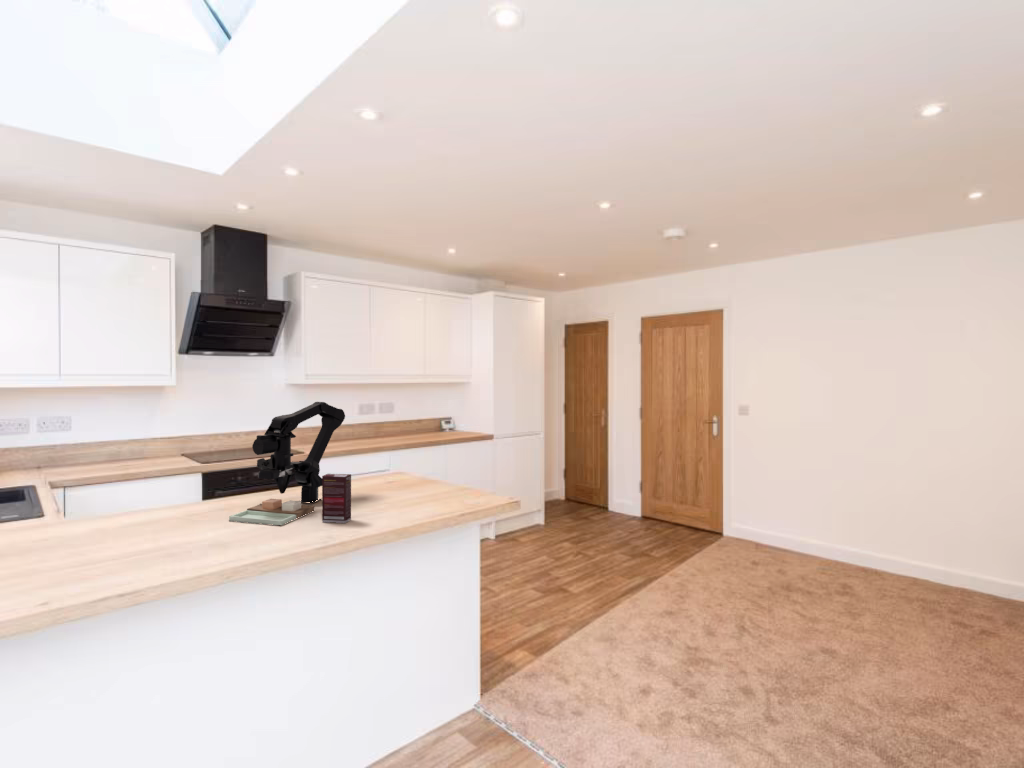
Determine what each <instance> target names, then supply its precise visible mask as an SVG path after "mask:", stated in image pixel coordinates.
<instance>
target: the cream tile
mask: <svg viewBox="0 0 1024 768" xmlns="http://www.w3.org/2000/svg"><path fill="white" fill-rule="evenodd" d="M301 505H302V503H301V501H300V500H292V499H291V500H290V499H289V500H287V501H285V502H282V510H283V511H295V510H298V509H300V508H301Z"/></svg>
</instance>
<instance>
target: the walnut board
mask: <svg viewBox="0 0 1024 768" xmlns="http://www.w3.org/2000/svg"><path fill="white" fill-rule="evenodd" d="M246 510H250V511H261V512H272V513H282V514H293V515H296V518H298V517H301V516H303V515H305V514H308V513H310V512H312V511H314V512H315V505H304V504H301V508H300V509H298V510H295V511H283V510H282V506H281V507H279V508H276V509H274V510H272V509H262V503H260V504H257V505H254V506H252V507H248V508H246ZM312 513H313V512H312ZM310 514H311V513H310ZM308 515H309V514H308ZM305 516H306V515H305ZM303 517H304V516H303ZM301 518H302V517H301ZM298 519H299V518H298Z"/></svg>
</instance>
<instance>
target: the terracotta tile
mask: <svg viewBox="0 0 1024 768" xmlns="http://www.w3.org/2000/svg"><path fill="white" fill-rule="evenodd" d="M282 503H283V499H279V498H269V499H266V500H263V501H262V502H261V504H262V509H272V510H274V509H276V508H279V507H281V506H282Z"/></svg>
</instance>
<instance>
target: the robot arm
mask: <svg viewBox="0 0 1024 768" xmlns="http://www.w3.org/2000/svg"><path fill="white" fill-rule="evenodd" d="M317 415H318V416H320V417H321V427H320V430H319V432H318V434H317V435H316V438H315V441H314V442H313V445H312V446H311V448H310V451H309V453H308V455H307V457H306V459H304V460H299V461H292V457H294V453H293V452H292V445H291V444H292V442H291V441H292V439H295V438H297V435H296V434H294V433H293V431H294V430H295V429H297V428H298V426H299V425H300V424H301V423H303V422H305V421H307V420H309V419H312V418H313V417H316V416H317ZM345 419H346V414H345V411H344V410H343V409H342V408H338V407H336V406H333V405H330V404H328V403H326V402H324V401H315V402H313V403H312V404H310V405H307V406H305V407H304V408H301V409H299V410H296V411H294V412H292V413H289V414H282V415H278V416H275V417H273V418H272V419H271V423H270V424H269V426H268V428H267V430H266V431H265V432H264V434H263V435H261V434H258V435H256V439H254V441H253V442H252V443H253V444H252V451H253V454H255V455H257V456H260V455H261V456H262V455H267V454H271V455H270V458H268V459H265V458H264V457H262V458H259V459H257V461H256V467H257V468H258V469H260V470H259V471H258V473H257V477H258V478H257V479H263V480H265V479H267V480H274V481H275V483H276V485H277V489H278V491H279V493H280V494H285V493H286V491H287V488H288V487H289V484H290V482H291V480H292V478H293V477H294V479H295V481H296V483H297V486H301V492H300V493H301V494H300V496H301V497H300V498H301V499H300V500H301V502H310V503H313V502H315V501H316V500H318V498H319V488H320V487H322V476H320V475H319V474H320V471H321V469H320V462H321V460H322V458H323V455H324V453H325V451H326V449H327V447H328V445H329V442H330V440H331V438H332V436H333V433H334V432H335V431H336V430H337V429H339V427H341V425H342V423H343V422H344V421H345ZM293 470H294V472H293ZM312 501H313V502H312ZM310 503H309V504H310ZM315 503H316V502H315ZM313 504H314V503H313Z"/></svg>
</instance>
